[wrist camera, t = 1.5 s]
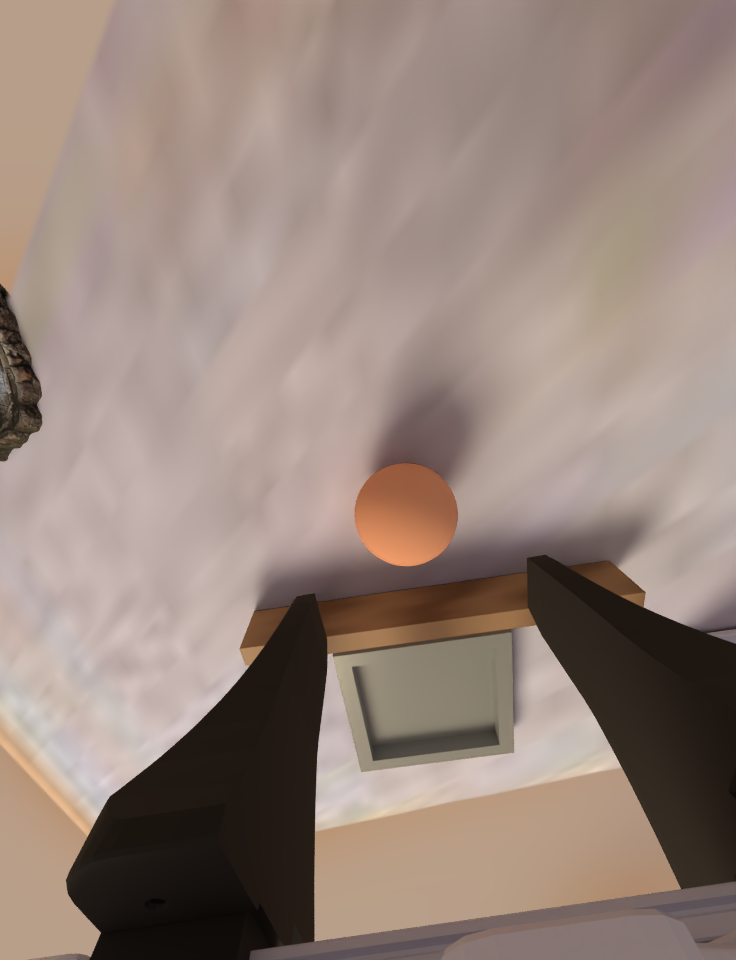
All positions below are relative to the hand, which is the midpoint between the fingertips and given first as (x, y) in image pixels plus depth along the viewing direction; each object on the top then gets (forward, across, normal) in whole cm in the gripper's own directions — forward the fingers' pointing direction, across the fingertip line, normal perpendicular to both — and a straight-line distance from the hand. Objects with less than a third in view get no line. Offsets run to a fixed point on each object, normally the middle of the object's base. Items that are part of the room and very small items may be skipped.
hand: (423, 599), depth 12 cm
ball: (+6, 0, 0) cm, 6 cm away
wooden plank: (+8, -1, +7) cm, 11 cm away
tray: (+8, 0, +15) cm, 17 cm away
